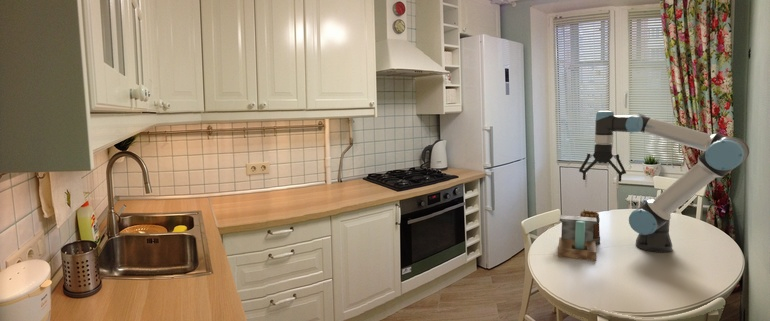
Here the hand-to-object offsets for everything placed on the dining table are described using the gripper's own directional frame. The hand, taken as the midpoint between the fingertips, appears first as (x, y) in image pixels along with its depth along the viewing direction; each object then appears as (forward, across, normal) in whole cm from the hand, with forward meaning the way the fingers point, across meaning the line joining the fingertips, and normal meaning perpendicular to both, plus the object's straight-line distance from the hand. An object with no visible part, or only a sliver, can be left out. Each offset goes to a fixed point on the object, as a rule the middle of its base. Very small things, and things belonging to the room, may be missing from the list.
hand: (601, 187), depth 217 cm
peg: (+29, +9, +20) cm, 36 cm away
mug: (+29, +5, -5) cm, 30 cm away
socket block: (+29, +10, +15) cm, 34 cm away
